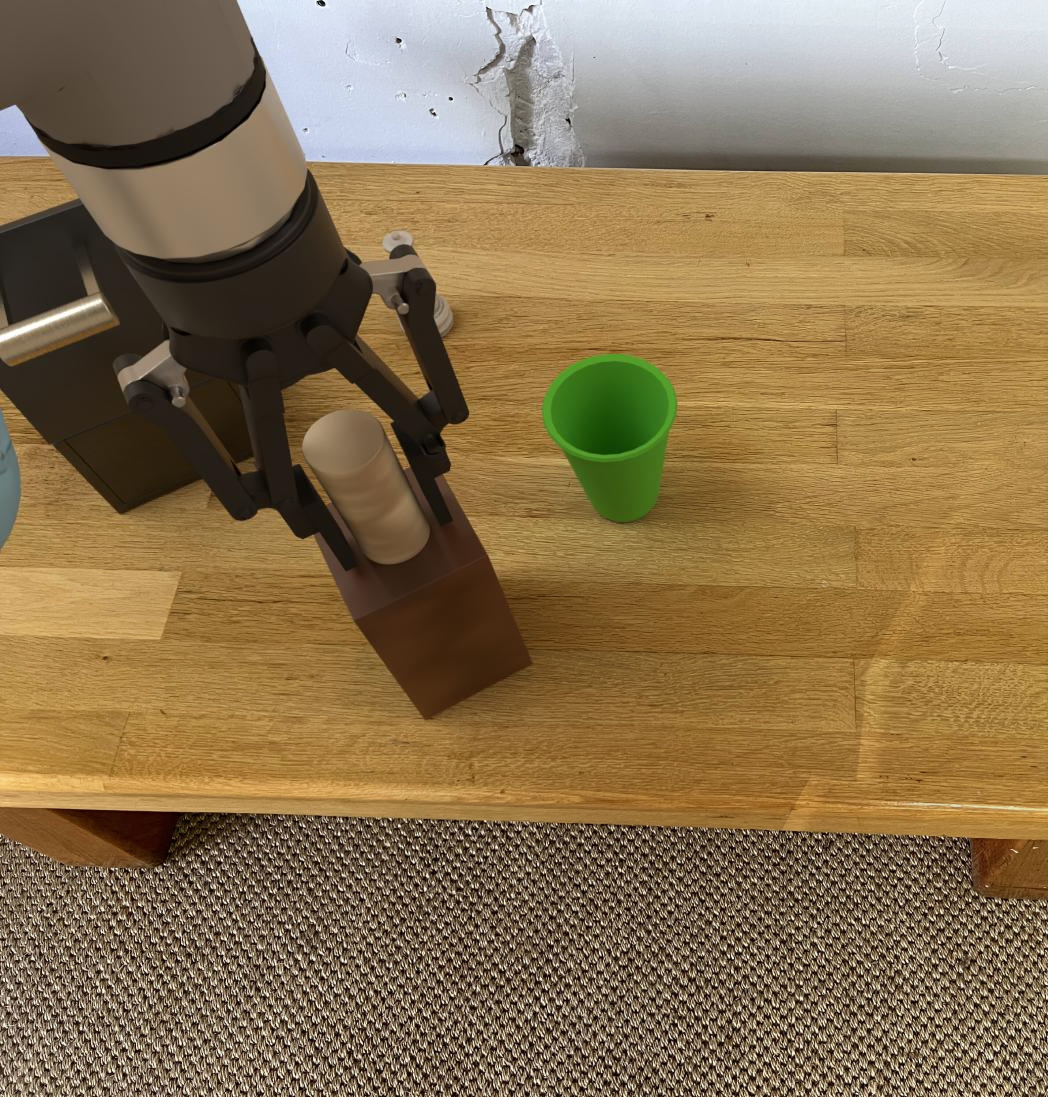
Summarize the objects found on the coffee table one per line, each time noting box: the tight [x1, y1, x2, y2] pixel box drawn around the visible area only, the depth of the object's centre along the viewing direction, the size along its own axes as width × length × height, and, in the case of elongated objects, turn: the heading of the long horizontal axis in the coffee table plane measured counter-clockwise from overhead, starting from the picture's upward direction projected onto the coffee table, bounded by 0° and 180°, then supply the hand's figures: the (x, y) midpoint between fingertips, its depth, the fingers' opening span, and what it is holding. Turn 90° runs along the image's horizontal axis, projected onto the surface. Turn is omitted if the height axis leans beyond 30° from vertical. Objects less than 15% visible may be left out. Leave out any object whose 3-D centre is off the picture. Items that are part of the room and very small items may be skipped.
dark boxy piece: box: [51, 377, 254, 515], centre depth 78 cm, size 14×13×9 cm
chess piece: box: [381, 230, 454, 338], centre depth 82 cm, size 4×4×10 cm
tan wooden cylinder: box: [301, 408, 430, 564], centre depth 54 cm, size 4×4×9 cm
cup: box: [541, 353, 679, 523], centre depth 73 cm, size 9×9×11 cm
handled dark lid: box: [0, 197, 213, 445], centre depth 63 cm, size 14×13×9 cm
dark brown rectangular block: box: [313, 466, 533, 721], centre depth 65 cm, size 8×8×15 cm
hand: (391, 527), depth 58 cm, fingers open, 5 cm apart
